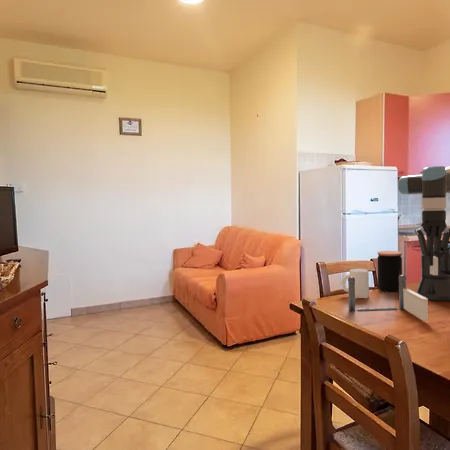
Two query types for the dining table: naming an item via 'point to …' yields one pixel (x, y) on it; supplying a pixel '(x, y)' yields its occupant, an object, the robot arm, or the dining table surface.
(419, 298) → the gate
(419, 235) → the robot arm
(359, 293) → the mug
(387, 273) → the coffee jar
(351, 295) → the posts and sill
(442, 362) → the dining table surface
